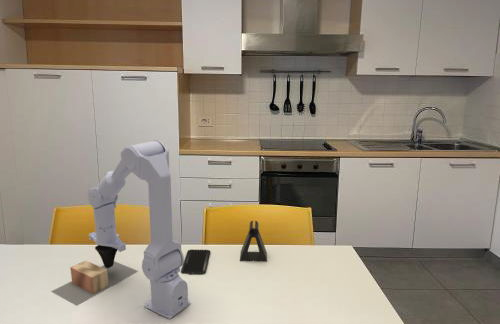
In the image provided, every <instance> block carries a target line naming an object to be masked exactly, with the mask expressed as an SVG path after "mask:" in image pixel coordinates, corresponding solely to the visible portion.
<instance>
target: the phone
mask: <svg viewBox="0 0 500 324" xmlns="http://www.w3.org/2000/svg"><path fill="white" fill-rule="evenodd" d="M210 255H211V250H210V249H188V250H187V252H186V254H185V257H184V263H183V265H182V266H181V267H180V273H181V274H184V275H196V276H197V275H205V274H206V273H207V269H208V265H209V261H210Z"/></svg>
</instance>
